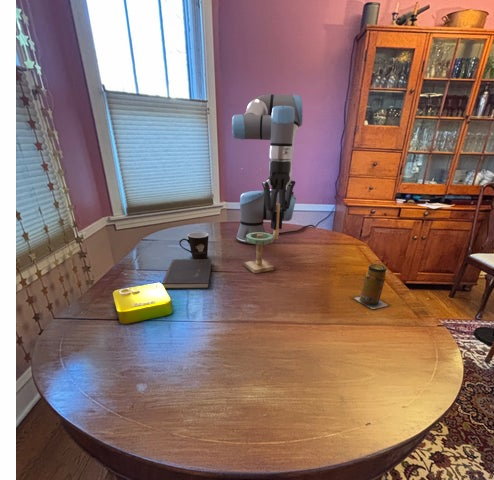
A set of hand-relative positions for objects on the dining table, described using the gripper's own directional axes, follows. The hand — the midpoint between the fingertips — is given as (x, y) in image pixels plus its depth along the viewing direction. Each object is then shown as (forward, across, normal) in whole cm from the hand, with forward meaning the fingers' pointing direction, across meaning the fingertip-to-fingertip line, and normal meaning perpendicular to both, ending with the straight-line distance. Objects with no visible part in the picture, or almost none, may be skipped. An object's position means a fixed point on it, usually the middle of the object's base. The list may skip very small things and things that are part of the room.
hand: (276, 228), depth 116 cm
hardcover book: (+15, -35, +4) cm, 39 cm away
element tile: (+15, -55, -14) cm, 59 cm away
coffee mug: (+15, -26, +22) cm, 38 cm away
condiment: (+15, +12, -42) cm, 46 cm away
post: (+15, -7, 0) cm, 17 cm away
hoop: (+4, -6, 0) cm, 7 cm away
